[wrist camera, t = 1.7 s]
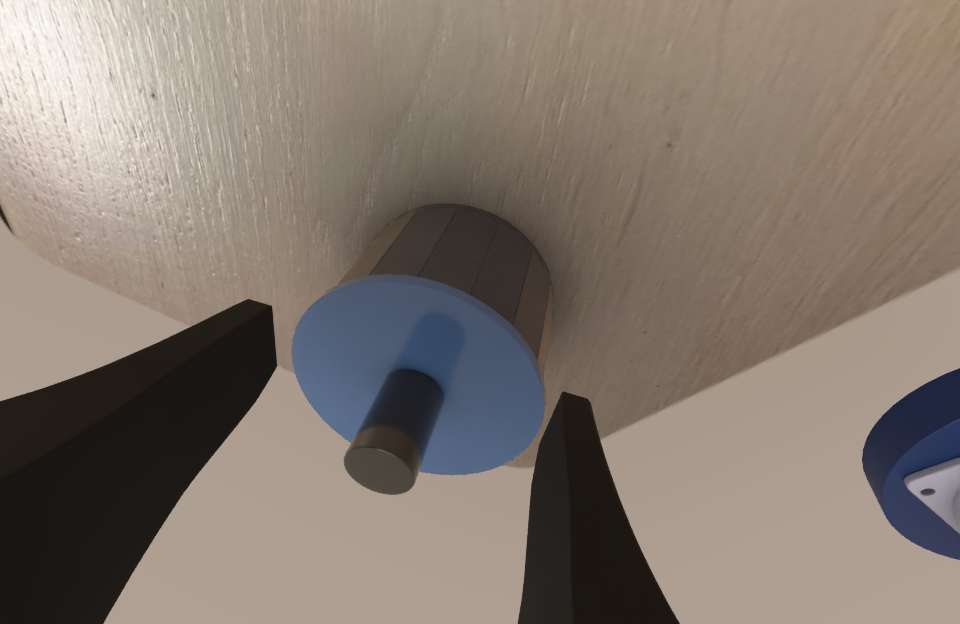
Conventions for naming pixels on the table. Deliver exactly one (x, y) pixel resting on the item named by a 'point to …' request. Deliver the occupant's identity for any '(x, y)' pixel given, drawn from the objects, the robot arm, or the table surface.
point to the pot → (469, 264)
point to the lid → (417, 379)
